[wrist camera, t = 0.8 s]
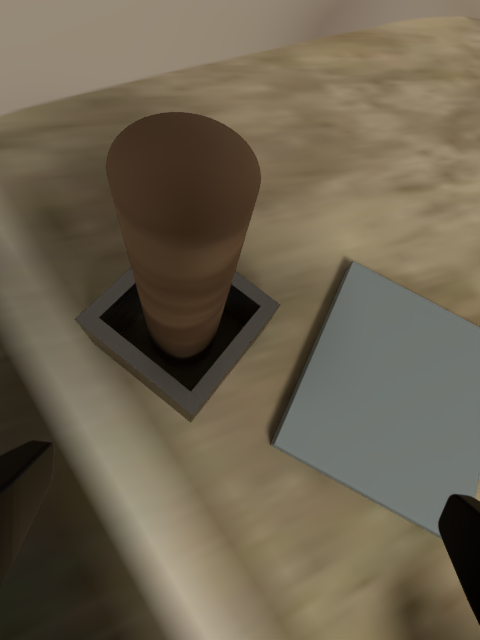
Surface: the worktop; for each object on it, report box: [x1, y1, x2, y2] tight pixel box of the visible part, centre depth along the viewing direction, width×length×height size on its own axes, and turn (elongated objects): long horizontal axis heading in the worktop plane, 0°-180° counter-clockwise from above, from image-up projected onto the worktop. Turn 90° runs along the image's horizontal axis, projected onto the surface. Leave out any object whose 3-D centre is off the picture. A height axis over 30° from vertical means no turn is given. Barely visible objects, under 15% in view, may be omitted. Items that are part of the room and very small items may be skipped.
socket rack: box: [75, 268, 280, 422], centre depth 20 cm, size 8×8×4 cm
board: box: [270, 261, 480, 539], centre depth 22 cm, size 14×12×1 cm
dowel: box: [106, 112, 261, 366], centre depth 16 cm, size 4×4×14 cm
